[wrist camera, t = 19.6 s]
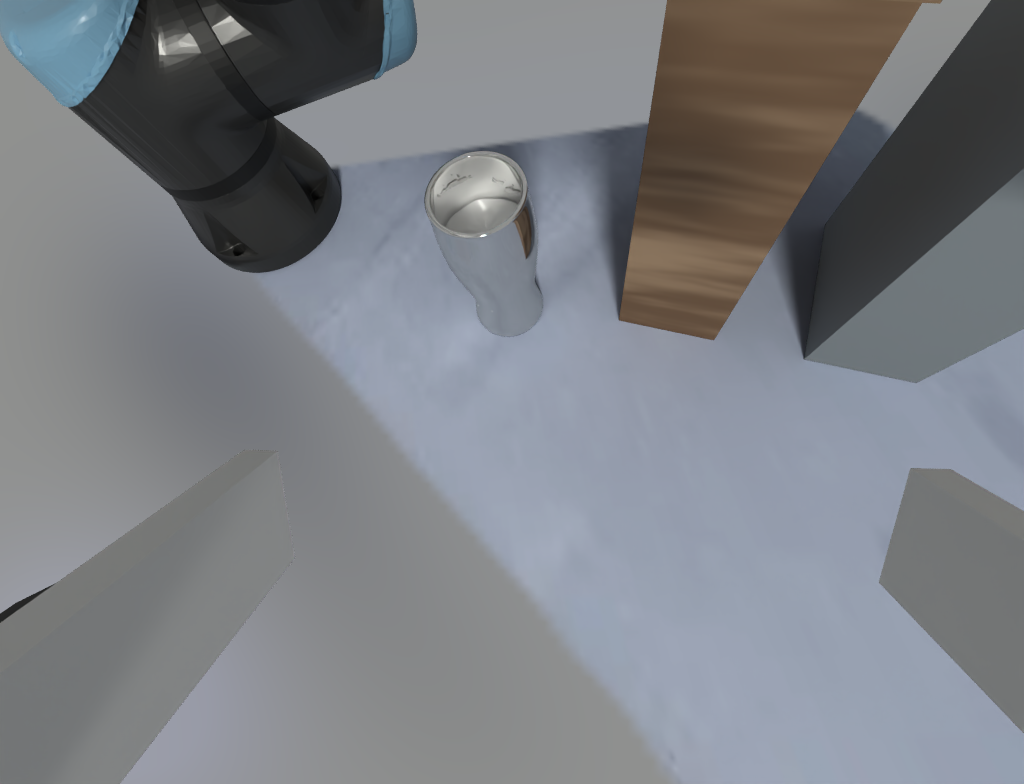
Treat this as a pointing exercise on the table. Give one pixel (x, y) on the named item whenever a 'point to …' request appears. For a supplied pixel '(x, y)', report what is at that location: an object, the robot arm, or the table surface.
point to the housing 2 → (934, 222)
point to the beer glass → (489, 237)
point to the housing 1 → (741, 141)
